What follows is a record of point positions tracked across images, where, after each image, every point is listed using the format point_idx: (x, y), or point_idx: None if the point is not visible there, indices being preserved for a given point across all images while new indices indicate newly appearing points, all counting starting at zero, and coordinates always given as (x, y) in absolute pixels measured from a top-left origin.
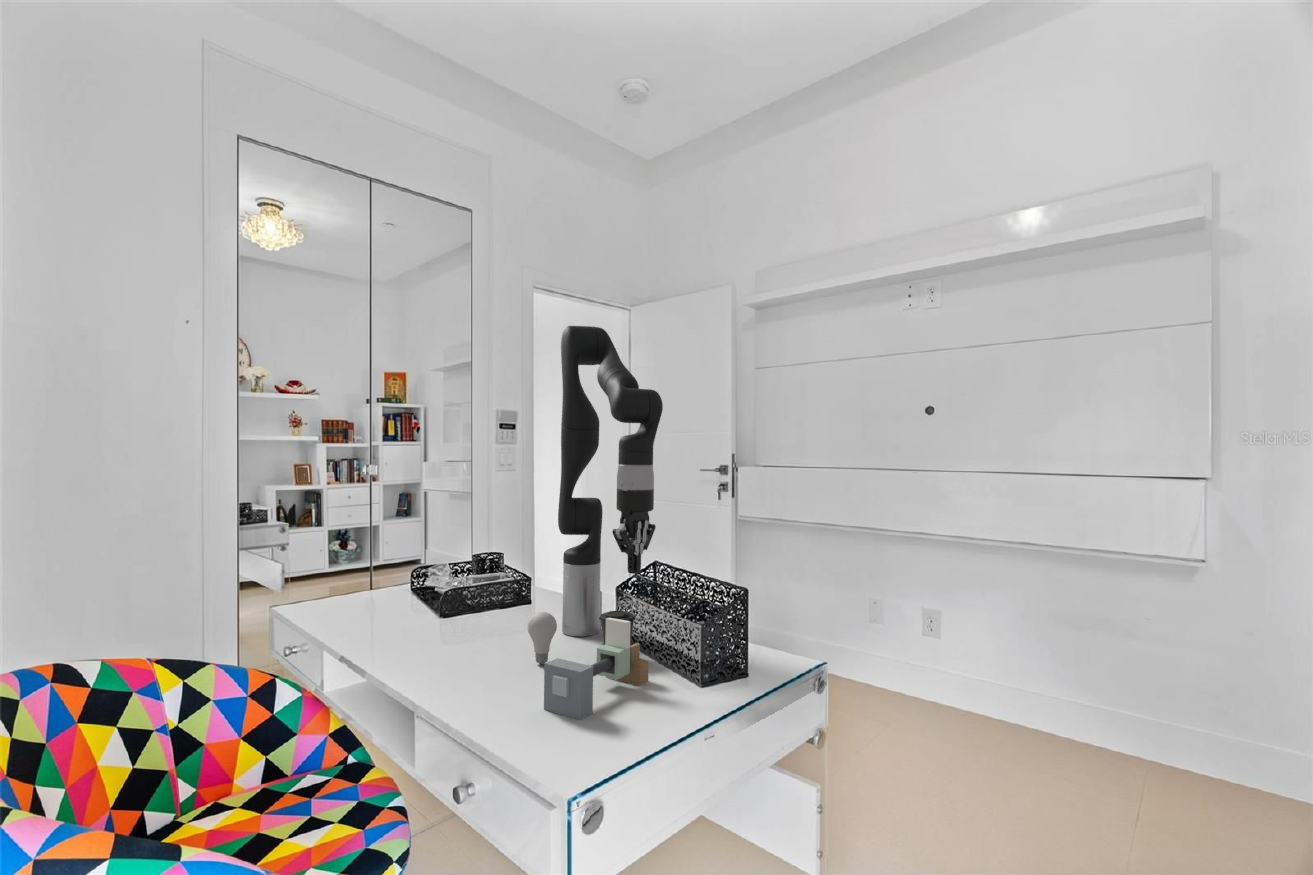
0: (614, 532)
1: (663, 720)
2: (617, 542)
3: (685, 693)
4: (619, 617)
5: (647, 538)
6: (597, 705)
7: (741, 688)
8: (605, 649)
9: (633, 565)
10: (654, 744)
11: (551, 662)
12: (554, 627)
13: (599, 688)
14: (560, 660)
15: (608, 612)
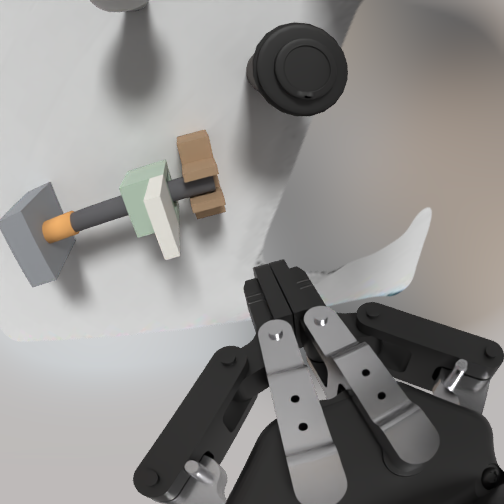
0: (140, 484)
1: (138, 305)
2: (177, 415)
3: (223, 266)
4: (287, 92)
5: (397, 376)
6: None
7: None
8: (128, 206)
9: (252, 321)
10: (98, 333)
11: (6, 224)
12: (133, 6)
13: None
14: (21, 224)
15: (296, 45)
